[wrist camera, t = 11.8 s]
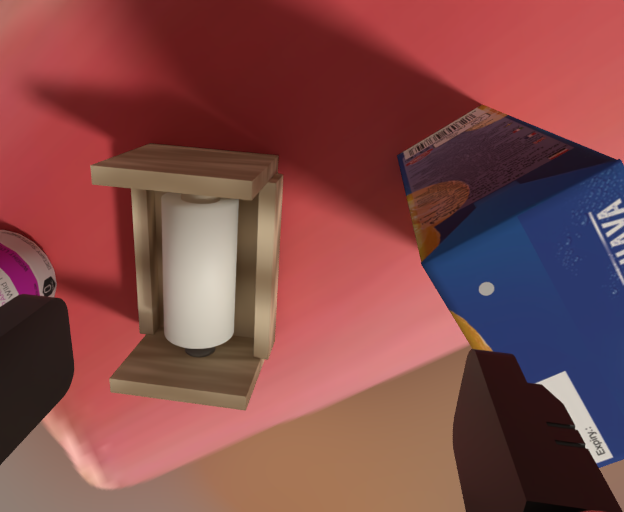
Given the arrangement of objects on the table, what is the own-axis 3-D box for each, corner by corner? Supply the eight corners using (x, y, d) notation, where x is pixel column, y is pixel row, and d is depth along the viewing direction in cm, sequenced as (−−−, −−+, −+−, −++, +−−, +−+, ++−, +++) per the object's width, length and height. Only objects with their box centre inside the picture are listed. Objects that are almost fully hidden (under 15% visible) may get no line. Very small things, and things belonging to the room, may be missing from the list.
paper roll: (176, 179, 39) (149, 197, 34) (245, 186, 39) (229, 206, 34) (177, 315, 44) (153, 349, 39) (240, 323, 44) (224, 358, 39)
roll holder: (142, 142, 40) (81, 164, 31) (286, 156, 39) (261, 182, 31) (152, 331, 46) (102, 391, 38) (276, 346, 45) (253, 411, 37)
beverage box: (464, 272, 41) (555, 485, 20) (396, 154, 38) (420, 263, 18) (547, 230, 39) (740, 420, 18) (481, 103, 36) (620, 159, 16)
